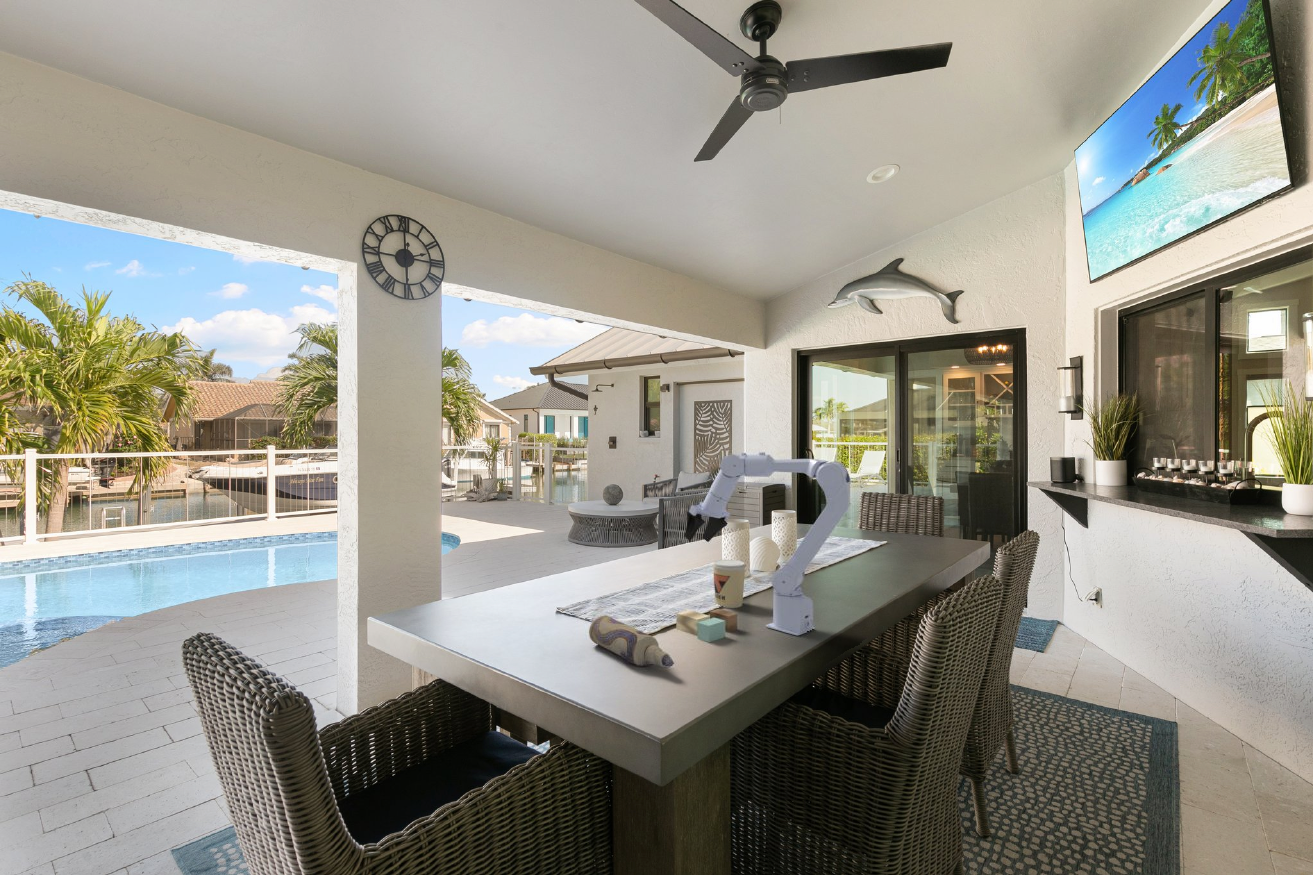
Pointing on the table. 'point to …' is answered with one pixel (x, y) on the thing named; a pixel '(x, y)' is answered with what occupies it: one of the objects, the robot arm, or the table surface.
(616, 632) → the decorative bottle
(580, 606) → the table surface
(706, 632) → the teal block
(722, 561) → the coffee cup
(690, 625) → the maple block
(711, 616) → the walnut block
